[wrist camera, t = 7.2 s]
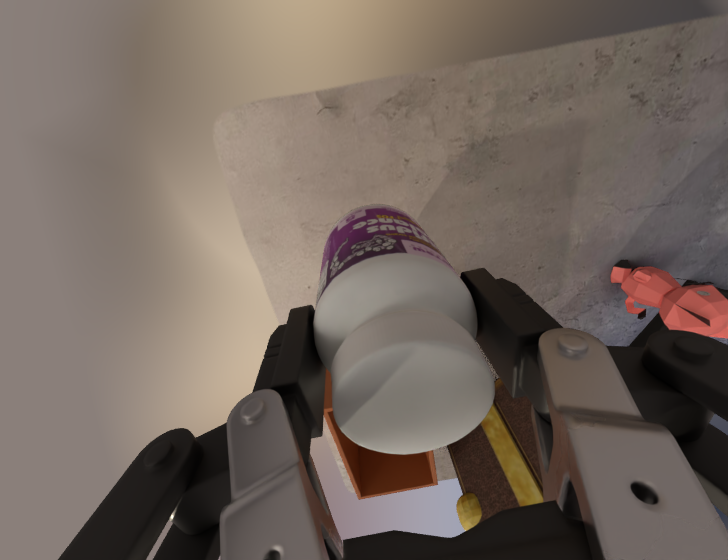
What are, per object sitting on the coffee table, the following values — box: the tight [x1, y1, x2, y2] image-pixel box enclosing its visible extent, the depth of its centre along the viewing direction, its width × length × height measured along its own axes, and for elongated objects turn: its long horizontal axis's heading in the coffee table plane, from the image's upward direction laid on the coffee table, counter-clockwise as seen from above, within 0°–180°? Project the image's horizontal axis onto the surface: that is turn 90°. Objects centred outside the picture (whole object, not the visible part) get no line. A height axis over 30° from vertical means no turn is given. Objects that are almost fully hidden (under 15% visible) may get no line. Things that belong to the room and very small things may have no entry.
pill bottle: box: [313, 204, 495, 454], centre depth 11 cm, size 5×5×10 cm
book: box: [447, 377, 543, 531], centre depth 38 cm, size 22×8×25 cm, turn 145°
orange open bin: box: [324, 368, 438, 500], centre depth 43 cm, size 21×12×9 cm, turn 11°
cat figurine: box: [611, 260, 728, 338], centre depth 33 cm, size 7×7×12 cm
